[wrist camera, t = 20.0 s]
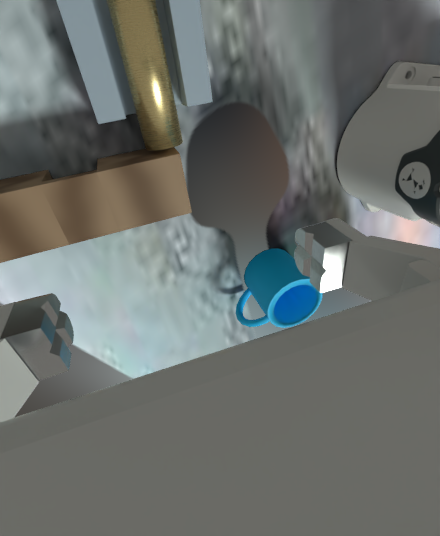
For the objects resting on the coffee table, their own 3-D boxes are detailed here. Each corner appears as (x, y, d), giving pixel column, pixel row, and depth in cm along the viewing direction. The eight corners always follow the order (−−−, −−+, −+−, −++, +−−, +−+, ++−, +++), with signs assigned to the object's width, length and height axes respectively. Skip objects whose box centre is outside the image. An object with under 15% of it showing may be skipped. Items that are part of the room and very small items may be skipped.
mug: (277, 237, 43) (308, 267, 37) (300, 269, 48) (331, 301, 42) (214, 289, 45) (233, 326, 38) (242, 315, 49) (263, 352, 43)
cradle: (184, -23, 25) (194, -34, 22) (202, 98, 30) (212, 101, 28) (56, -8, 23) (49, -19, 20) (98, 118, 29) (98, 124, 26)
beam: (170, 143, 32) (179, 153, 28) (181, 196, 35) (191, 212, 31) (-37, 187, 28) (-59, 207, 24) (-1, 242, 32) (-16, 266, 28)
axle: (138, -60, 22) (144, -79, 20) (178, 137, 31) (186, 144, 28) (90, -56, 22) (88, -74, 19) (143, 145, 30) (148, 152, 27)
